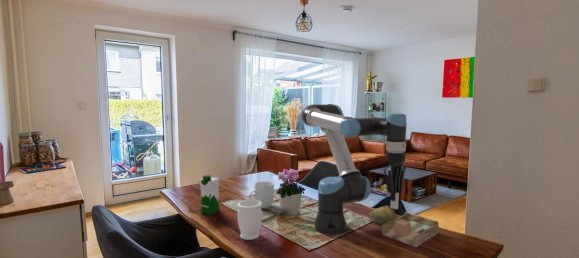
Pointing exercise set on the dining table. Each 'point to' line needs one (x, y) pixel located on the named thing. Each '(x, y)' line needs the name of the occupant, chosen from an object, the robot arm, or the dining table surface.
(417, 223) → the tray
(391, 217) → the pastry
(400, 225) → the terracotta block
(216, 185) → the milk carton
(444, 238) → the dining table surface
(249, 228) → the jar
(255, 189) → the mug
